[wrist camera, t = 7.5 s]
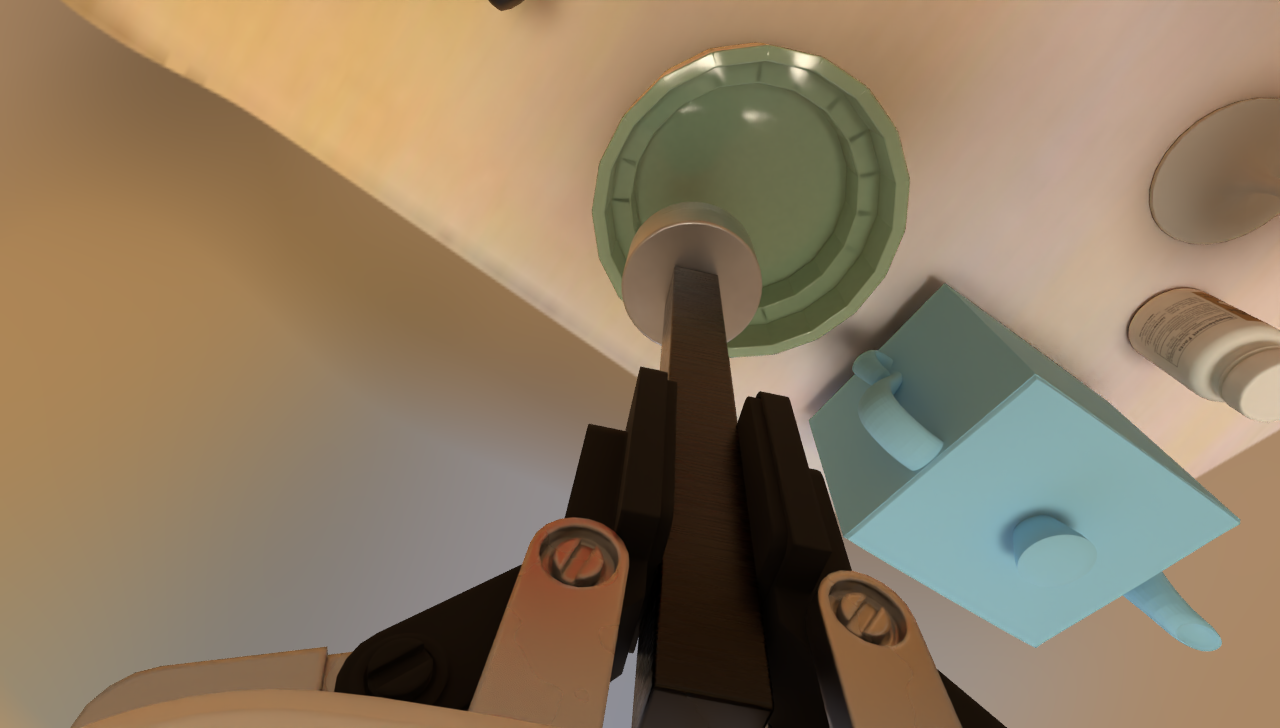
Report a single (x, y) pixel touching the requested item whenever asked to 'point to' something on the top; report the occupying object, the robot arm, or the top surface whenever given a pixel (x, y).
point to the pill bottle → (1212, 350)
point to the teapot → (1008, 480)
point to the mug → (505, 4)
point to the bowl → (765, 180)
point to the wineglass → (1221, 175)
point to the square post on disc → (700, 478)
